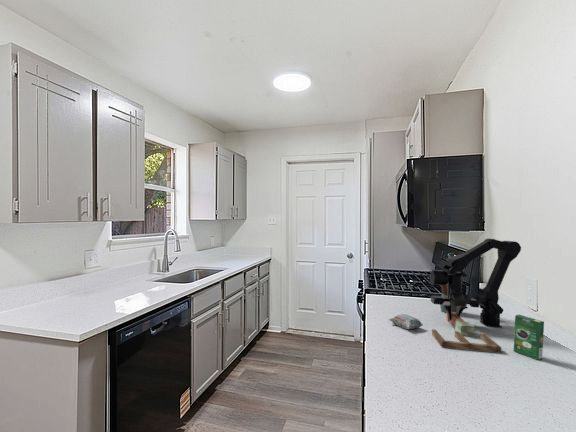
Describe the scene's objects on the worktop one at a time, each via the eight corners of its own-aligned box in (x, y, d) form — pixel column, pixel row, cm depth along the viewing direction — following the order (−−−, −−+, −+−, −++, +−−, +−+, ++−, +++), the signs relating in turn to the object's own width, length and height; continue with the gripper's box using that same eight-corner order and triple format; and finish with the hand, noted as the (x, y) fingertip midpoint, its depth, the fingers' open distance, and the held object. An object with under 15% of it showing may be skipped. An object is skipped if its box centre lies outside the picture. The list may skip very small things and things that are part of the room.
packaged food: (408, 333, 127) (409, 320, 127) (387, 324, 137) (387, 312, 138) (423, 330, 131) (424, 318, 131) (401, 321, 141) (402, 311, 141)
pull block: (456, 321, 144) (457, 312, 144) (474, 336, 125) (474, 326, 125) (445, 320, 145) (445, 311, 145) (460, 335, 126) (460, 325, 126)
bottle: (464, 313, 157) (465, 253, 157) (454, 316, 152) (456, 254, 152) (445, 308, 164) (447, 252, 165) (436, 311, 159) (437, 252, 160)
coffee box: (544, 359, 105) (544, 320, 105) (539, 361, 104) (540, 321, 104) (518, 350, 112) (518, 313, 112) (513, 351, 111) (514, 314, 111)
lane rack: (484, 339, 122) (484, 333, 122) (501, 352, 110) (501, 347, 110) (431, 334, 126) (431, 329, 126) (441, 347, 113) (441, 341, 113)
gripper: (437, 288, 135) (436, 324, 135) (485, 291, 132) (484, 328, 131) (430, 283, 146) (429, 316, 146) (474, 285, 143) (473, 320, 142)
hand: (453, 320), depth 141 cm, fingers closed on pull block, 2 cm apart
